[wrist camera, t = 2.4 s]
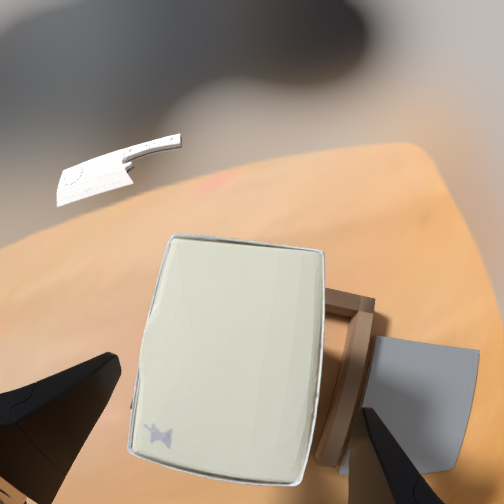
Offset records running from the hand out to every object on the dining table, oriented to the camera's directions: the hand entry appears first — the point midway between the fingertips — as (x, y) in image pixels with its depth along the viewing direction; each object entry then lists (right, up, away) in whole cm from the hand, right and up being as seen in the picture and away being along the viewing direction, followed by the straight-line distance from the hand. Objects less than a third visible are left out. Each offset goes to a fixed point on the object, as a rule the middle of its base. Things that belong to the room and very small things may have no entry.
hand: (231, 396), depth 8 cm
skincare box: (+1, -3, +8) cm, 9 cm away
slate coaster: (+13, -6, +6) cm, 15 cm away
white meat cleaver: (-14, +13, +17) cm, 26 cm away
